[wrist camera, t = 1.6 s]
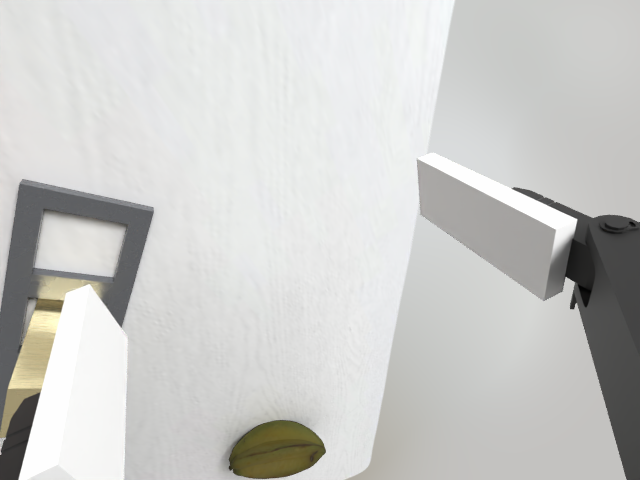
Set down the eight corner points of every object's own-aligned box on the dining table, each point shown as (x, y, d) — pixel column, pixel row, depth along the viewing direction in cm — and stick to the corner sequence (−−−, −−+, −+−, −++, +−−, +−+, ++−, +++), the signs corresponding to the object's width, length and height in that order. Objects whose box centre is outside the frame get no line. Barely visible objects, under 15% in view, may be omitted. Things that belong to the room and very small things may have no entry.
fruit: (280, 396, 57) (295, 435, 51) (318, 426, 64) (335, 463, 58) (217, 444, 56) (225, 488, 51) (262, 468, 63) (274, 510, 58)
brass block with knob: (30, 339, 38) (-2, 441, 29) (38, 298, 36) (6, 391, 27) (88, 342, 41) (75, 436, 32) (98, 303, 39) (87, 391, 30)
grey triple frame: (-15, 424, 40) (-18, 433, 40) (22, 179, 31) (19, 183, 31) (94, 419, 46) (93, 427, 45) (153, 207, 36) (153, 211, 36)
